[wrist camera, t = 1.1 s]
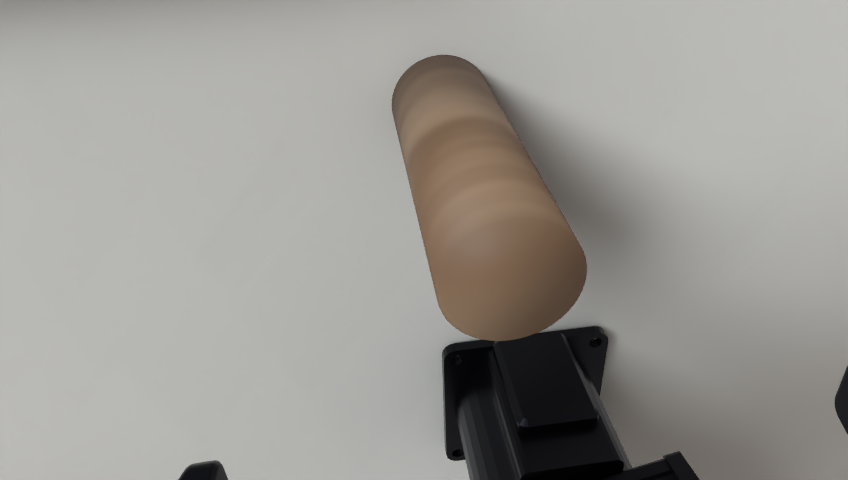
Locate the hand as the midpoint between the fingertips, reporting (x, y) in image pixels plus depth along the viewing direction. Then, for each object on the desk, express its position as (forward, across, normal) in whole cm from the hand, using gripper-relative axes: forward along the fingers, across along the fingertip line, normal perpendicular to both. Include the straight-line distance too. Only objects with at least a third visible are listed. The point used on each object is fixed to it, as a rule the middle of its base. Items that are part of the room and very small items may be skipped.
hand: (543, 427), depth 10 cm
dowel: (+13, 0, +1) cm, 13 cm away
